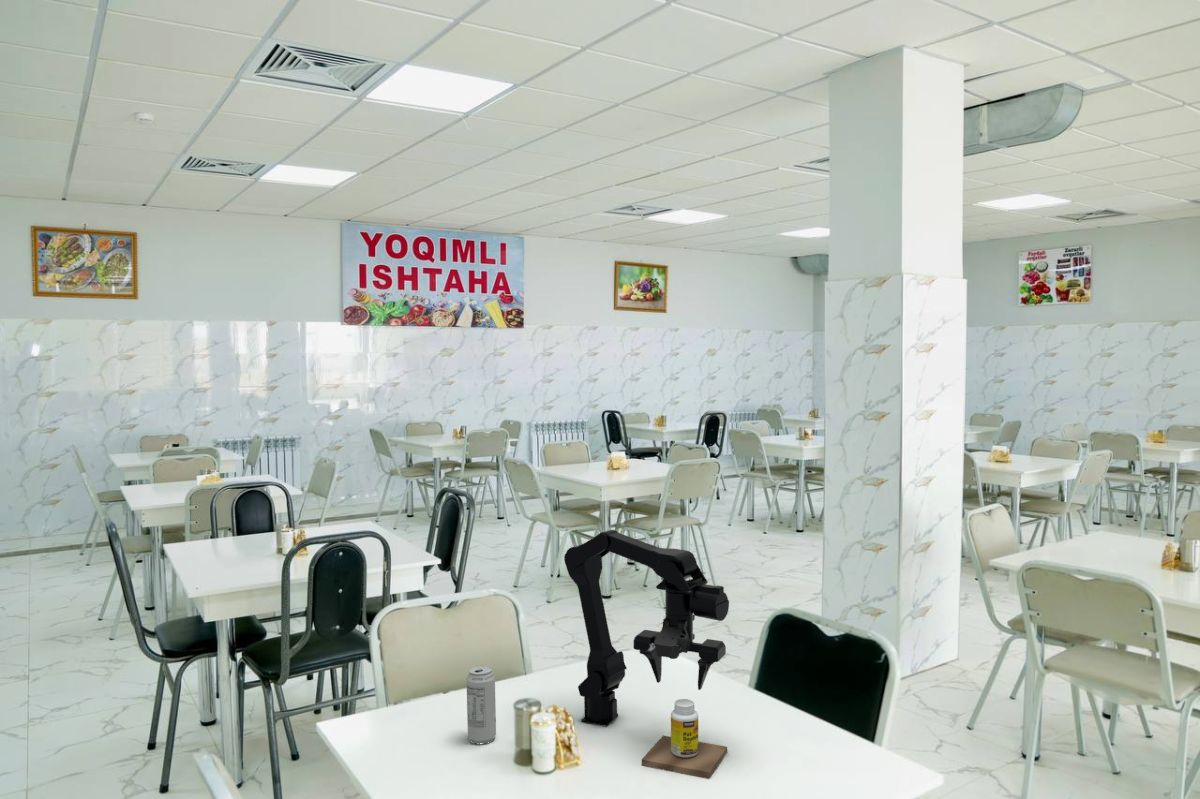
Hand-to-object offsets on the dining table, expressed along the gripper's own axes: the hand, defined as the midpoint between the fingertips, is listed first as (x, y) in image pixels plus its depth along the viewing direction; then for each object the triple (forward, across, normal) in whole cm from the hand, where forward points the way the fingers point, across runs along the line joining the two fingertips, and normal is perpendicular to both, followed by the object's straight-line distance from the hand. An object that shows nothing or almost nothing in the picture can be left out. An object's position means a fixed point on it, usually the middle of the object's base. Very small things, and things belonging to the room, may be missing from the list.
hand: (679, 685), depth 178 cm
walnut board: (+12, +4, -7) cm, 14 cm away
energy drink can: (+13, -39, -16) cm, 44 cm away
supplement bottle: (+11, +4, -7) cm, 13 cm away
